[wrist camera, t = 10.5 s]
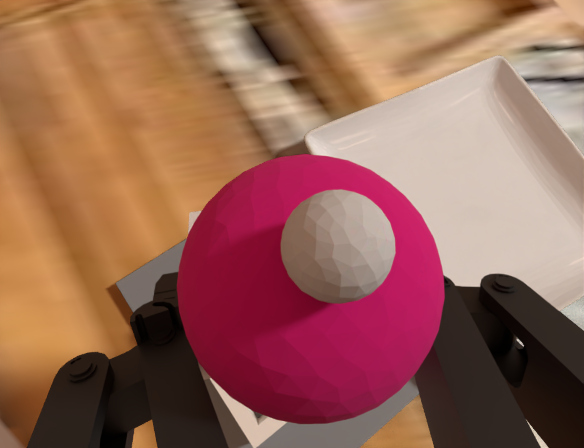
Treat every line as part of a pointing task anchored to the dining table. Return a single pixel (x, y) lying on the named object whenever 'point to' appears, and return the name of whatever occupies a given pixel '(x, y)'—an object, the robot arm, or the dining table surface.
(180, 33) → the dining table surface
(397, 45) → the dining table surface
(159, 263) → the caddy
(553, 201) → the square plate
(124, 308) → the dining table surface
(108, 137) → the dining table surface
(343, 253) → the pepper mill
